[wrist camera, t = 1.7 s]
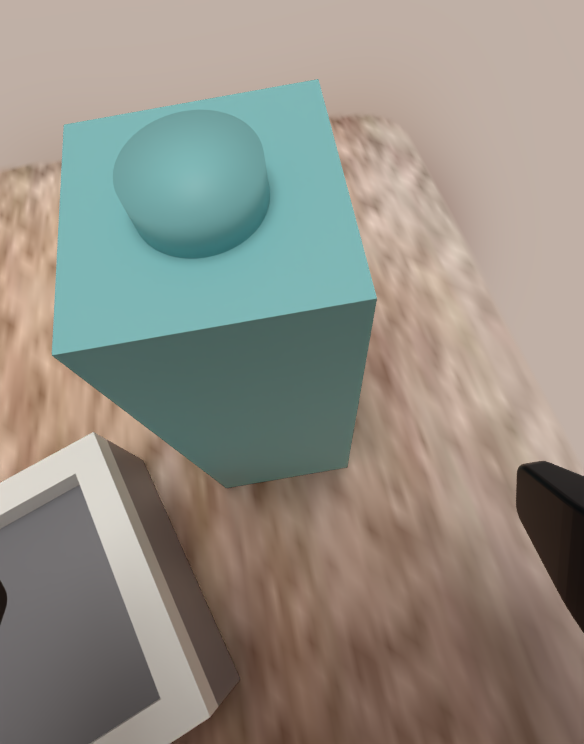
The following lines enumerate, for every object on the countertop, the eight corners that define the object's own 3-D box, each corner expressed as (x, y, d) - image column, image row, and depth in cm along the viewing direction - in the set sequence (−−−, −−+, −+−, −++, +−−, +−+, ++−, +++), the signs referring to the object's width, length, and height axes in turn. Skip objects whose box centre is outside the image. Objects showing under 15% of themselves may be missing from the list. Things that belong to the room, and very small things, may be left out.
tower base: (240, 678, 16) (210, 717, 12) (-3, 836, 15) (-127, 938, 11) (142, 460, 20) (93, 431, 16) (-63, 576, 19) (-176, 578, 14)
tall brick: (347, 467, 19) (382, 266, 6) (226, 488, 19) (20, 330, 6) (324, 357, 21) (317, 36, 8) (215, 376, 21) (40, 85, 8)
